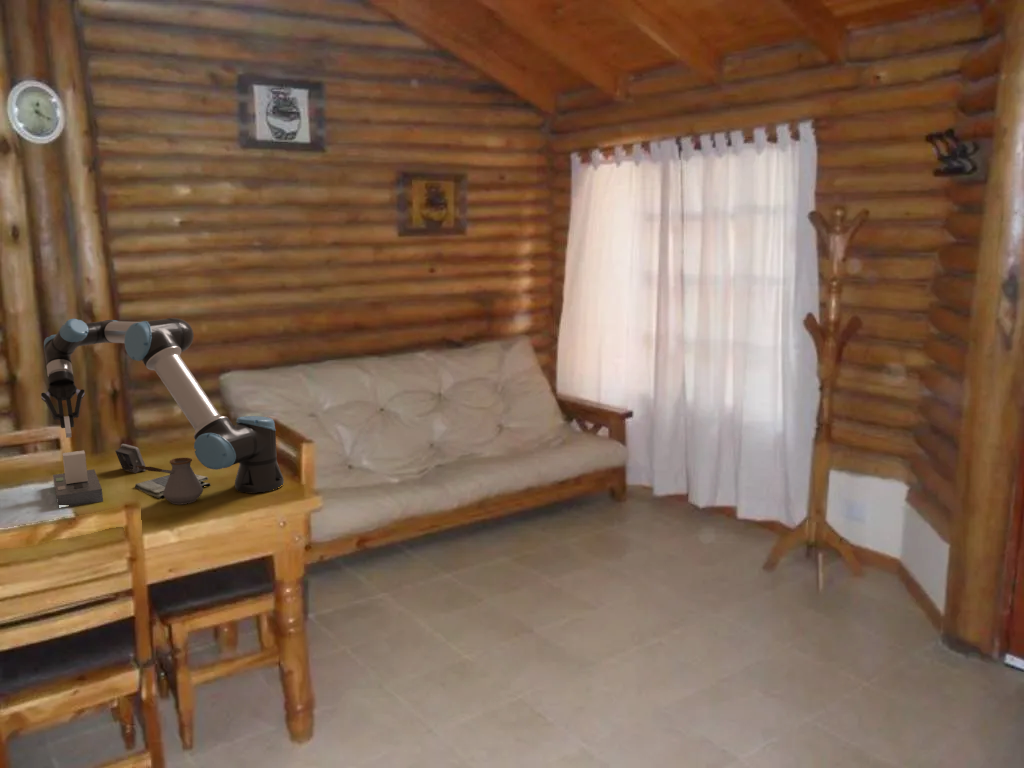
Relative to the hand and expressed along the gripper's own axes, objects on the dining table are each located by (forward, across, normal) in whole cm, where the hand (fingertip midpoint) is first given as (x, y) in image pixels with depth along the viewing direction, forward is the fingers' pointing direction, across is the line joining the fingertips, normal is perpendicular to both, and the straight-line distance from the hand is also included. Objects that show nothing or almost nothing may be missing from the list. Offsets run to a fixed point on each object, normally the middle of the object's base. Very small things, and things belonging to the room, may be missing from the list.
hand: (68, 435), depth 263 cm
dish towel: (+26, -28, +1) cm, 38 cm away
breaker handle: (+17, -1, -1) cm, 17 cm away
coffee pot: (+38, -24, +14) cm, 47 cm away
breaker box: (+20, 0, -4) cm, 20 cm away
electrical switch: (+7, -18, -17) cm, 26 cm away
